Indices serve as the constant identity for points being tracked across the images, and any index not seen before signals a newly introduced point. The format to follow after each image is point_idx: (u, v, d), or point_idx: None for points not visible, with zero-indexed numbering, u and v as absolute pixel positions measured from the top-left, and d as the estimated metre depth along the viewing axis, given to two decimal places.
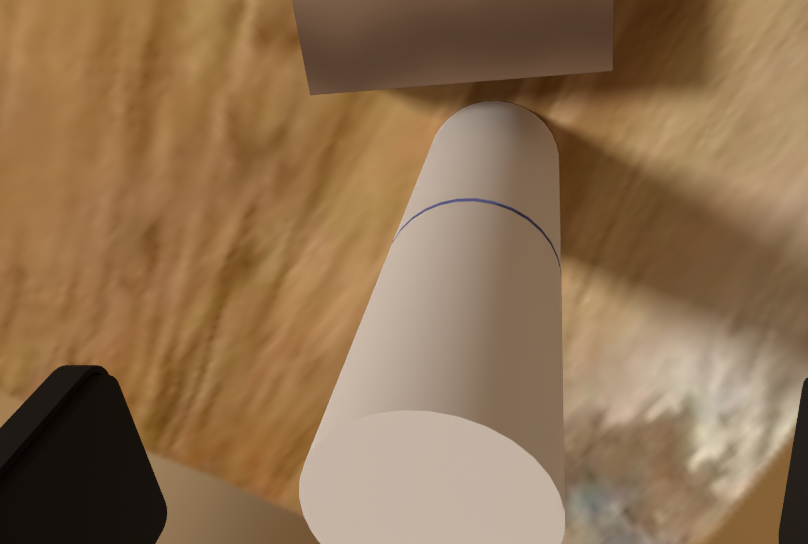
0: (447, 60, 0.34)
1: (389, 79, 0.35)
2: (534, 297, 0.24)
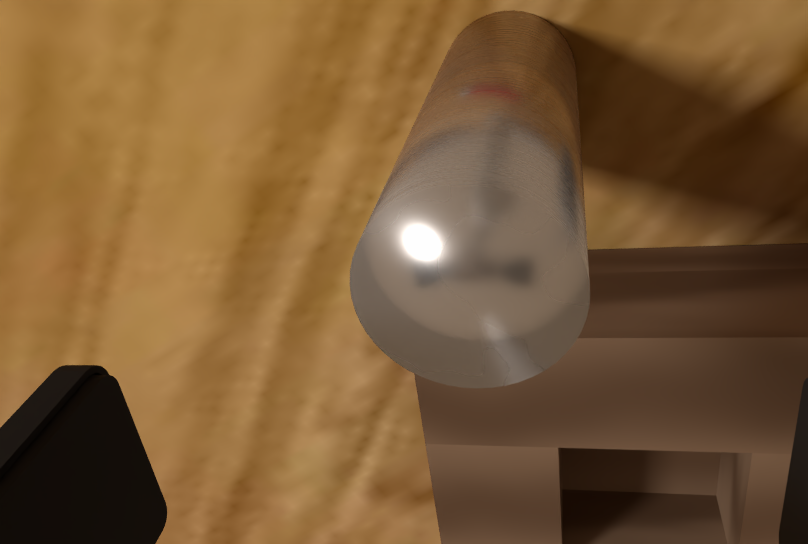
0: None
1: None
2: None
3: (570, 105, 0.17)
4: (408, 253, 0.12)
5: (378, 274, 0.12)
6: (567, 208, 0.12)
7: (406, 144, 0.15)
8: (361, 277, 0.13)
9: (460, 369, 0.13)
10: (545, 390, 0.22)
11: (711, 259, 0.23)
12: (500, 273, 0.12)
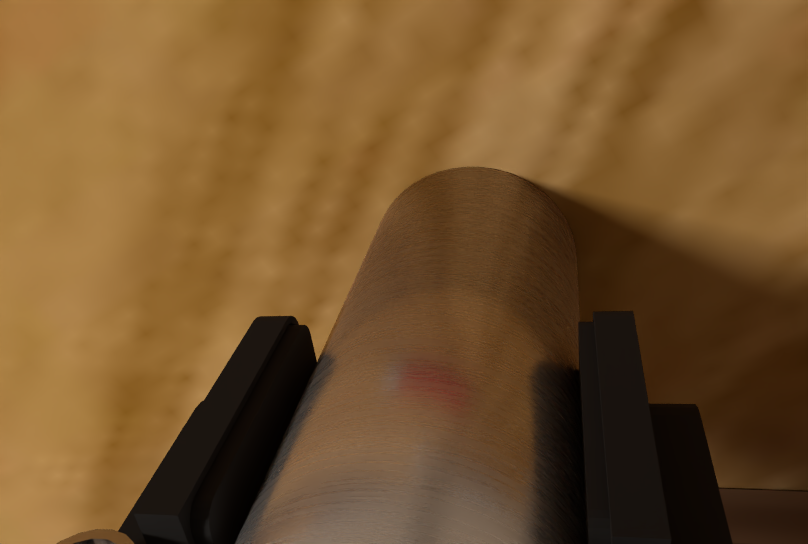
0: None
1: None
2: None
3: (569, 403, 0.09)
4: None
5: None
6: None
7: None
8: None
9: None
10: None
11: (779, 520, 0.16)
12: None
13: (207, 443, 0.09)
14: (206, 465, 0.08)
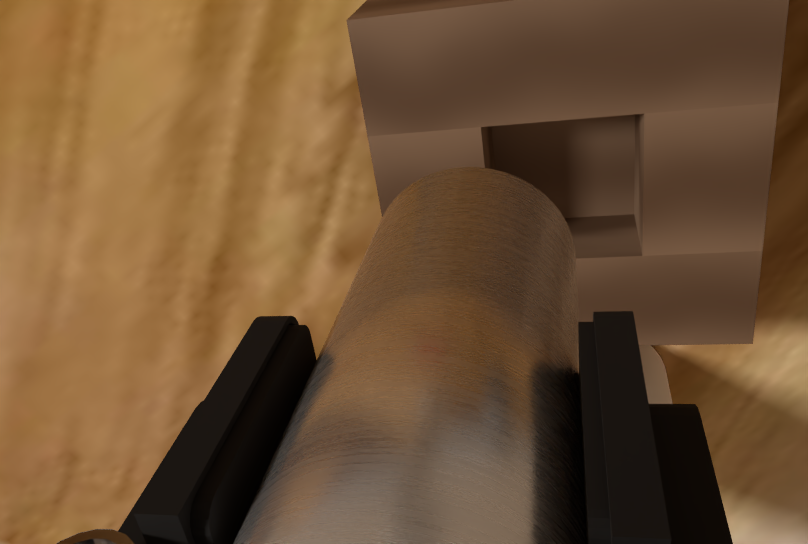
0: None
1: None
2: None
3: (568, 403, 0.09)
4: None
5: None
6: None
7: None
8: None
9: None
10: (465, 64, 0.25)
11: None
12: None
13: (207, 443, 0.09)
14: (205, 465, 0.08)
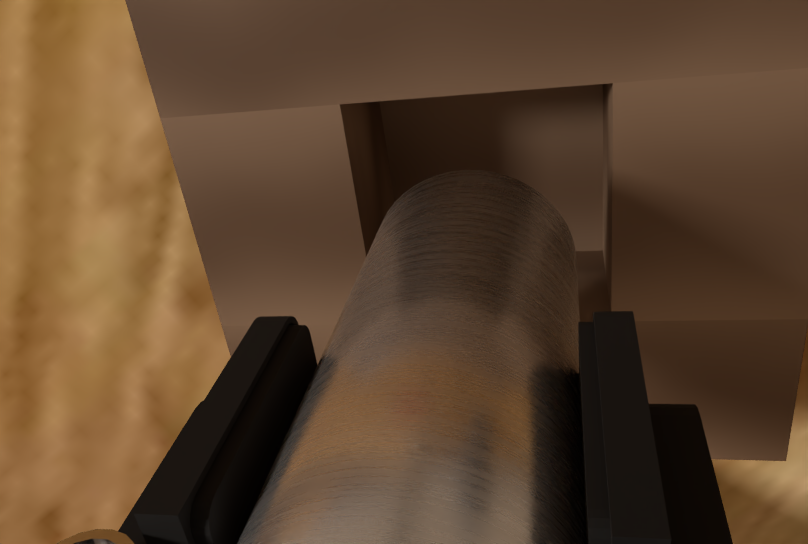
0: None
1: None
2: None
3: (569, 407, 0.09)
4: None
5: None
6: None
7: None
8: None
9: None
10: None
11: None
12: None
13: (207, 443, 0.09)
14: (206, 465, 0.08)
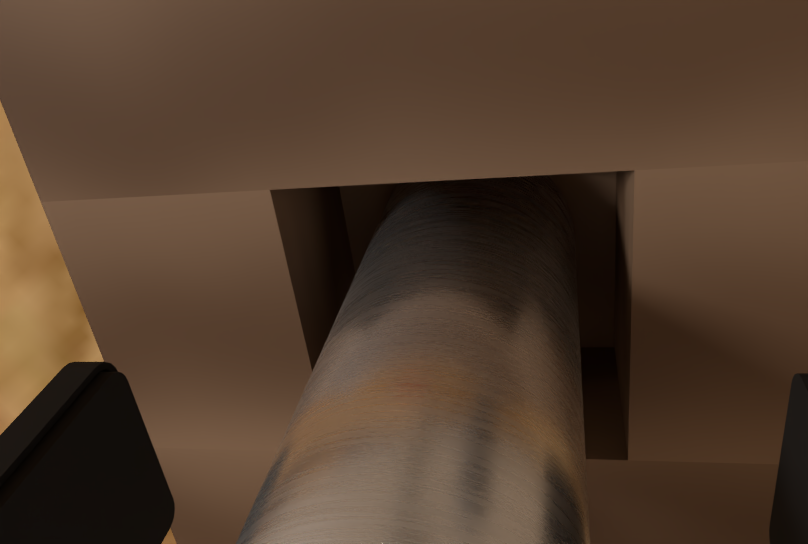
0: None
1: None
2: None
3: (566, 359, 0.10)
4: None
5: None
6: None
7: (263, 492, 0.08)
8: None
9: None
10: (215, 46, 0.11)
11: None
12: None
13: None
14: None
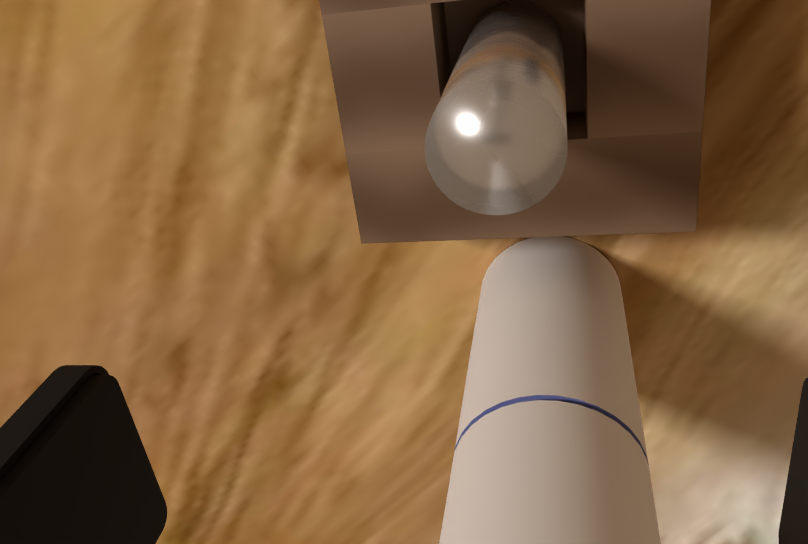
0: (513, 215, 0.31)
1: (448, 231, 0.32)
2: None
3: (558, 56, 0.26)
4: (461, 123, 0.21)
5: (442, 138, 0.21)
6: (553, 98, 0.21)
7: (453, 73, 0.24)
8: (431, 141, 0.21)
9: (489, 201, 0.22)
10: None
11: None
12: (514, 135, 0.21)
13: None
14: None
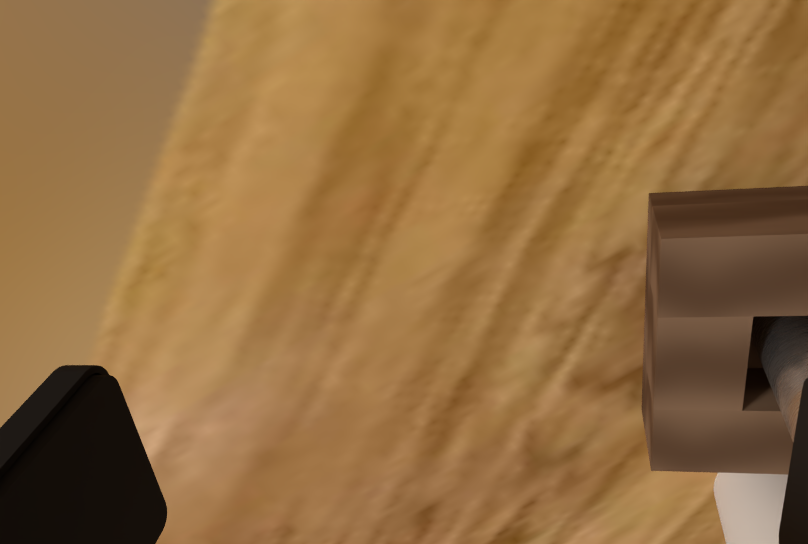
0: (790, 459, 0.38)
1: (730, 466, 0.39)
2: None
3: None
4: None
5: None
6: None
7: None
8: None
9: None
10: (750, 273, 0.33)
11: None
12: None
13: None
14: None
